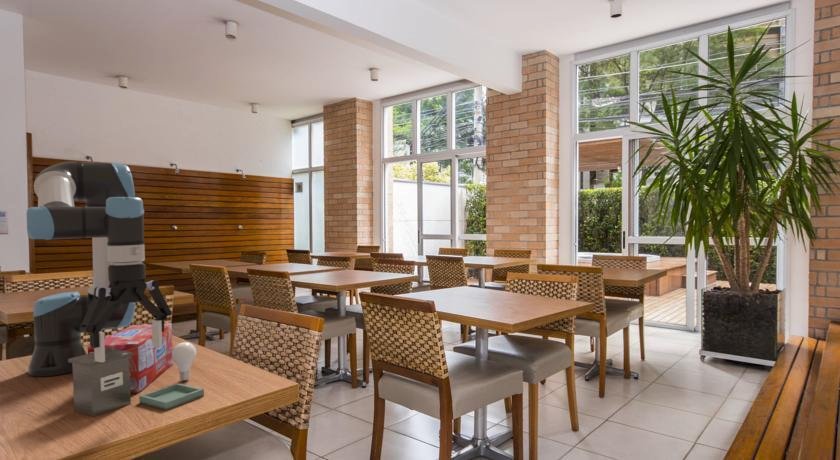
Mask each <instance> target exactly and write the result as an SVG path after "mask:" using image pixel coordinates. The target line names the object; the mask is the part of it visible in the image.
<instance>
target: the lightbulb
mask: <svg viewBox="0 0 840 460" xmlns="http://www.w3.org/2000/svg"><path fill="white" fill-rule="evenodd" d="M196 357H197V348H196V347H195V345H194V344H192V343H191V342H187V341H183V342H180V343H177V344H176V345H175V346H173V350H172V359H173V363H174V364H176V366H177V370H178V372H179V380H180V381H182V382H187V381H188V380H190V379H191V372H190V371H191V369H192V364H193V362H194V360H195V358H196Z"/></svg>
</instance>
